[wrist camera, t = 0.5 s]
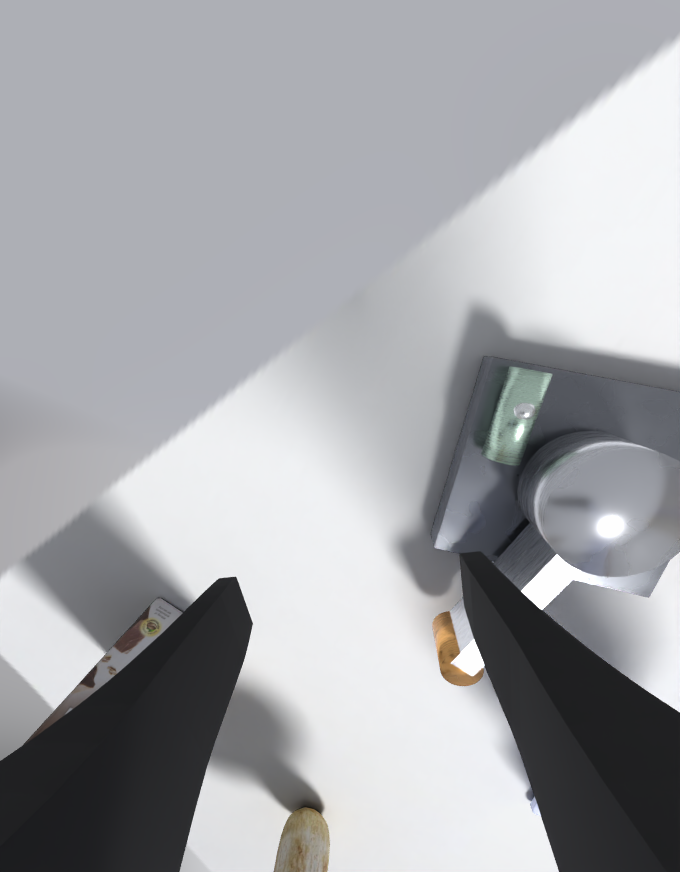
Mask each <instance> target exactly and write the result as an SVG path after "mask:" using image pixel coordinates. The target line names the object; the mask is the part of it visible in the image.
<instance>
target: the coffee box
mask: <svg viewBox="0 0 680 872" xmlns="http://www.w3.org/2000/svg"><path fill="white" fill-rule="evenodd" d="M182 613H183V612H181V611H180V610H178V609H176V608H175V607H173V606H172V605H170V604H169V603H167V602H166V601H164V600H163V599H161V598H158V599H156V600H155V601H154V602H153V603H152V604H151V605H150V606H149V607H148V608H147V609H146V611H145V612H144V613H143V614H142V615H141V616H140V617H139V618H138V619H137V620H136V621H135V623H134V624H133V625H132V626H131V627H130V628H129V629H128V630H127V631H126V632H125V633H124V635H123V636H122V637H121V638H120V639H119V640H118V641H117V642H116V643H115V645H114V646H113V647H112V648H111V649H110V650H109V651H108V652H107V653H106V654H105V655H104V657H103V658H102V659H101V660H100V661H99V662H98V663H97V664H96V665H95V666H94V668H93V669H92V670H91V671H90V672H89V673H88V674H87V675H86V676H85V677H84V679H83V680H82V681H81V682H80V683H79V684H78V685H77V686H76V688H75V689H74V690H73V691H72V692H71V693H70V694H69V695H68V696H67V697H66V699H65V700H64V701H63V702H62V703H61V704H60V705H59V706H58V707H57V708H56V709H55V711H54V712H53V713H52V714H51V715H50V716H49V717H48V718H47V719H46V720H45V721H44V723H43V724H42V725H41V726H40V727H39V728H38V729H37V731H35V732H34V734H33V735H32V736H31V737H30V738H29V739H28V740H27V741H26V742H25V743H24V744H26V743H27V742H29V741H30V740H32V739H33V738H34V737H36V736H37V735H38V734H40V733H41V732H42V731H44V730H45V729H46V728H48V727H49V726H51V725H52V724H53V723H55V722H56V721H57V720H59V719H60V718H61V717H63V716H64V715H65V714H67V713H68V712H70V711H71V710H72V709H74V708H75V707H76V706H78V705H79V704H80V703H81V702H83V701H84V700H85V699H87V698H88V697H89V696H90V695H91V694H93V693H94V692H95V691H96V690H98V689H99V688H100V687H101V686H103V685H104V684H105V683H106V682H108V681H109V680H110V679H111V678H112V677H114V676H115V675H116V674H117V673H118V672H119V671H121V670H122V669H123V668H124V667H125V666H126V665H128V664H129V663H130V662H131V661H132V660H133V659H134V658H135V657H136V656H137V655H139V654H140V653H141V652H142V651H143V650H144V649H145V648H146V647H147V646H148V645H150V644H151V643H152V642H153V641H154V640H155V639H156V638H157V637H158V636H159V635H161V634H162V633H163V632H164V631H165V630H166V629H167V628H168V627H169V626H170V625H171V624H172V623H173V622H174V621H175V620H176V619H177V618H178V617H179V616H180V615H181V614H182Z"/></svg>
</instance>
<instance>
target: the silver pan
mask: <svg viewBox="0 0 680 872" xmlns="http://www.w3.org/2000/svg"><path fill="white" fill-rule="evenodd" d="M517 494H518V501H519V505H520V508H521V510H522V512H523V514H524V516H525V517H526V518H527V520H528V521H529V522H530V523H529V524H528V526H527V527H526V528H525V529H524V530H523V531H522V532H521V533H520V534H519V535H518V537H517V538H516V539H515V540H514V541H513V542H512V543H511V544H510V545H509V546H508V548H507V549H506V550H505V551H504V552H503V553H502V554H501V555H500V556H499V557H498V559H497V560H496V561H495V562H494V563H493V564H494V565H495V566H496V567H497V568H498V569H499V570H500V571H501V572H502V573H503V574H504V575H505V576H506V577H507V578H508V579H509V580H510V581H511V582H512V583H513V584H514V585H515V586H516V587H517V588H519V589H520V590H521V591H522V592H523V593H524V594H525V595H526V596H527V597H528V598H529V599H530V600H532V601H533V602H534V603H535V604H536V605H537V606H538V607H539V608H540V609H541V610H542V609H543V608H544V607H545V606H546V605H547V604H548V603H549V602H550V601H551V600H552V599H553V598H554V597H555V596H556V595H557V594H558V593H559V592H561V591H562V590H563V589H564V588H565V587H566V586H567V585H568V584H569V583H570V582H571V581H572V580H573V579H574V578H575V577H576V576H577V575H578V574H579V573H580V572H581V571H582V572H585V573H588V574H592V575H596V576H603V577H623V576H630V575H636V574H639V573H643V572H646V571H649V570H651V569H654V568H656V567H658V566H660V565H662V564H664V563H665V562H667V561H669V560H670V559H672V558H673V557H674V556H675V555H677V554H678V553H679V552H680V462H679V461H678V460H676V459H674V458H672V457H670V456H668V455H665V454H662V453H660V452H657V451H654V450H652V449H649V448H646V447H644V446H641V445H638V444H636V443H633V442H630V441H628V440H625V439H622V438H620V437H617V436H614V435H611V434H608V433H604V432H598V431H581V432H574V433H570V434H566V435H563V436H561V437H558V438H556V439H554V440H552V441H550V442H549V443H547V444H545V445H544V446H542V447H541V448H540V449H539V450H538V451H536V452H535V454H534V455H533V456H532V457H531V458H530V459H529V461H528V462H527V463H526V465H525V467H524V468H523V470H522V473H521V475H520V478H519V482H518V489H517ZM432 627H433V632H434V638H435V643H436V649H437V654H438V660H439V665H440V671H441V674H442V676H443V677H444V679H445V680H447V681H448V682H449V683H451V684H454V685H458V686H469V685H472V684H475V683H477V682H478V681H479V680H480V679H481V678H482V676H483V673H484V668H483V666H484V663H483V660H482V658H481V656H480V653H479V651H478V648H477V646H476V643H475V641H474V637H473V634H472V631H471V628H470V624H469V621H468V618H467V614H466V611H465V608H464V601H463V597H462V598H461V599H460V600H459V602H458V603H457V604H456V605H455V606H454V607H453V608H452V609H451V610H450V611H448V612H443V613H441V614H439V615H438V616H437V617H436V618H435V619H434V621H433V624H432Z"/></svg>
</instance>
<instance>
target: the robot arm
mask: <svg viewBox="0 0 680 872" xmlns="http://www.w3.org/2000/svg"><path fill="white" fill-rule="evenodd" d="M459 554H460V565H461V577H462V589H463V601H464V608H465V611H466V614H467V618H468V621H469V624H470V628H471V631H472V634H473V637H474V641H475V643H476V646H477V648H478V651H479V653H480V656H481V658H482V660H483V663H484V665H485V668H486V670H487V673H488V675H489V677H490V680H491V682H492V685H493V687H494V689H495V692H496V694H497V697H498V699H499V702H500V704H501V706H502V709H503V711H504V714H505V716H506V718H507V721H508V723H509V726H510V728H511V730H512V733H513V736H514V738H515V741H516V743H517V746H518V749H519V751H520V754H521V757H522V760H523V763H524V766H525V769H526V772H527V775H528V778H529V781H530V784H531V787H532V790H533V793H534V798H533V800H532V802H531V804H530V806H531V809H532V811H533V813H534V814H536V815H539V816H541V817H542V820H543V823H544V826H545V829H546V833H547V836H548V839H549V842H550V845H551V848H552V851H553V854H554V857H555V860H556V863H557V866H558V870H559V872H680V712H678V711H677V710H675V709H673V708H672V707H670V706H669V705H667V704H666V703H664V702H663V701H661V700H660V699H658V698H657V697H655V696H654V695H652V694H651V693H649V692H647V691H646V690H645V689H643V688H642V687H640V686H639V685H638V684H636V683H635V682H633V681H632V680H630V679H629V678H628V677H626V676H625V675H623V674H622V673H621V672H619V671H618V670H616V669H615V668H614V667H612V666H611V665H610V664H608V663H607V662H606V661H604V660H603V659H602V658H600V657H599V656H598V655H596V654H595V653H594V652H592V651H591V650H590V649H589V648H587V647H586V646H585V645H583V644H582V643H581V642H580V641H578V640H577V639H576V638H575V637H573V636H572V635H571V634H570V633H569V632H567V631H566V630H565V629H564V628H563V627H561V626H560V625H559V624H558V623H556V622H555V621H554V620H553V619H552V618H551V617H549V616H548V615H547V614H546V613H545V612H544V611H543V610H541V609H540V608H539V607H538V606H537V605H536V604H535V603H534V602H533V601H532V600H530V599H529V598H528V597H527V596H526V595H525V594H524V593H523V592H522V591H521V590H520V589H519V588H517V587H516V586H515V585H514V584H513V583H512V582H511V581H510V580H509V579H508V578H507V577H506V576H505V575H504V574H503V573H502V572H501V571H500V570H499V569H498V568H497V567H496V566H495V565H494V564H493V563H492V562H491V561H490V560H489V559H488V558H487V556H486V555H485V554H484V553H482V552H481V551H476V552H467V553H459ZM252 625H253V623H252V620H251V617H250V614H249V612H248V609H247V606H246V603H245V600H244V597H243V595H242V592H241V589H240V586H239V583H238V581H237V578H236V577H229V578H219V579H218V580H217V581H216V582H215V583H213V584H212V585H211V586H210V587H209V588H208V589H207V590H206V591H205V592H204V593H203V594H202V595H201V596H200V597H199V598H198V599H197V600H196V601H195V602H194V603H193V604H192V605H191V606H189V607H188V608H187V609H186V610H185V611H184V612H183V613H182V614H181V615H180V616H179V617H178V618H177V619H176V620H175V621H174V622H173V623H172V624H171V625H170V626H169V627H168V628H167V629H166V630H165V631H164V632H163V633H162V634H161V635H159V636H158V637H157V638H156V639H155V640H154V641H153V642H152V643H151V644H150V645H148V646H147V647H146V648H145V649H144V650H143V651H142V652H141V653H140V654H139V655H137V656H136V657H135V658H134V659H133V660H132V661H131V662H130V663H129V664H128V665H126V666H125V667H124V668H123V669H122V670H121V671H119V672H118V673H117V674H116V675H115V676H114V677H112V678H111V679H110V680H109V681H108V682H106V683H105V684H104V685H103V686H101V687H100V688H99V689H98V690H96V691H95V692H94V693H93V694H91V695H90V696H89V697H88V698H87V699H85V700H84V701H83V702H81V703H80V704H79V705H78V706H76V707H75V708H74V709H72V710H71V711H70V712H68V713H67V714H65V715H64V716H63V717H61V718H60V719H59V720H57V721H56V722H55V723H53V724H52V725H51V726H49V727H48V728H46V729H45V730H44V731H42V732H41V733H40V734H38V735H37V736H36V737H34V738H33V739H32V740H30V741H29V742H27V743H26V744H24V745H23V746H22V747H20V748H19V749H17V750H16V751H14V752H13V753H11V754H10V755H8V756H7V757H6V758H4V759H3V760H1V761H0V872H179V871H180V867H181V863H182V859H183V855H184V851H185V847H186V843H187V839H188V836H189V832H190V828H191V824H192V820H193V816H194V812H195V808H196V805H197V801H198V797H199V794H200V790H201V786H202V783H203V779H204V775H205V772H206V768H207V765H208V762H209V758H210V755H211V752H212V749H213V746H214V743H215V740H216V738H217V735H218V732H219V729H220V726H221V724H222V721H223V718H224V715H225V713H226V710H227V707H228V704H229V701H230V699H231V696H232V693H233V690H234V688H235V685H236V682H237V679H238V676H239V673H240V670H241V668H242V665H243V662H244V659H245V655H246V651H247V647H248V643H249V638H250V634H251V629H252Z"/></svg>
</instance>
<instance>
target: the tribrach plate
mask: <svg viewBox="0 0 680 872" xmlns="http://www.w3.org/2000/svg"><path fill="white" fill-rule="evenodd" d="M581 431H598V432H604V433H608V434H611V435H614V436H617V437H620V438H622V439H625V440H628V441H630V442H633V443H636V444H638V445H641V446H644V447H646V448H649V449H652V450H654V451H657V452H660V453H662V454H665V455H668V456H670V457H672V458H674V459H676V460H678V461H679V462H680V392H677V391H672V390H666V389H661V388H656V387H650V386H645V385H640V384H635V383H629V382H624V381H619V380H613V379H608V378H603V377H597V376H592V375H587V374H581V373H576V372H571V371H565V370H560V369H555V368H549V367H544V366H539V365H534V364H528V363H523V362H518V361H512V360H507V359H502V358H496V357H488V356H484V358H483V361H482V364H481V368H480V371H479V374H478V378H477V381H476V384H475V388H474V391H473V394H472V398H471V401H470V404H469V408H468V411H467V414H466V418H465V421H464V424H463V428H462V431H461V434H460V438H459V441H458V444H457V448H456V451H455V454H454V458H453V461H452V464H451V468H450V471H449V474H448V478H447V481H446V484H445V488H444V491H443V494H442V498H441V501H440V504H439V508H438V511H437V514H436V518H435V521H434V524H433V528H432V531H431V537H432V541H433V544H434V548H437V549H441V550H446V551H450V552H454V553H467V552H476V551H481V552H482V553H484V554H485V555H486V556H487V558H488V559H489V560H490V561H493V562H495V561H496V560H497V559H498V557H499V556H500V555H501V554H502V553H503V552H504V551H505V550H506V549H507V548H508V546H509V545H510V544H511V543H512V542H513V541H514V540H515V539H516V538H517V537H518V535H519V534H520V533H521V532H522V531H523V530H524V529H525V528H526V527H527V526H528V524H529V523H530V522H529V521H528V520H527V518H526V517H525V516H524V514H523V512H522V510H521V508H520V505H519V501H518V494H517V489H518V482H519V478H520V475H521V473H522V470H523V468H524V467H525V465H526V463H527V462H528V461H529V459H530V458H531V457H532V456H533V455H534V454H535V452H536V451H538V450H539V449H540V448H541V447H542V446H544V445H545V444H547V443H549V442H550V441H552V440H554V439H556V438H558V437H561V436H563V435H566V434H570V433H574V432H581ZM669 561H670V560H669ZM669 561H667V562H665V563H664V564H662V565H660V566H658V567H656V568H654V569H651V570H649V571H646V572H643V573H639V574H636V575H630V576H623V577H603V576H596V575H592V574H588V573H585V572H582V571H581V572H580V573H579V574H578V575H577V576H576V577H575V578H574V579H573V580H575V581H580V582H584V583H588V584H593V585H597V586H601V587H606V588H610V589H614V590H618V591H623V592H627V593H631V594H636V595H640V596H644V597H650V595H651V593H652V591H653V589H654V588H655V586H656V584H657V582H658V580H659V579H660V577H661V575H662V573H663V571H664V570H665V568H666V566H667V564H668V562H669Z"/></svg>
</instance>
